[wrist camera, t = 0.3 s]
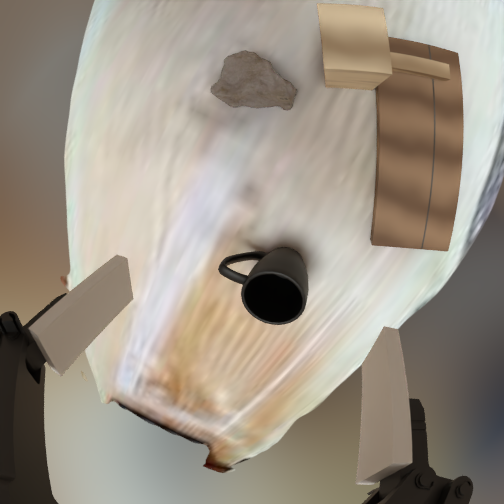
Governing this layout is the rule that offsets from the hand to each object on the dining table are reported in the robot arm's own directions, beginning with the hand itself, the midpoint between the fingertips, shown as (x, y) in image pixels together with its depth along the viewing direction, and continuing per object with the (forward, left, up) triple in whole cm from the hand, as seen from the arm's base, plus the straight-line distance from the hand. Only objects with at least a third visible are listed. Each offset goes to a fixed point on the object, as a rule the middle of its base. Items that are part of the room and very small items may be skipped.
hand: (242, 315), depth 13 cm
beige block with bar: (-17, +11, -27) cm, 34 cm away
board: (-7, +16, -27) cm, 32 cm away
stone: (-14, -5, -27) cm, 31 cm away
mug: (+11, -4, -27) cm, 29 cm away
